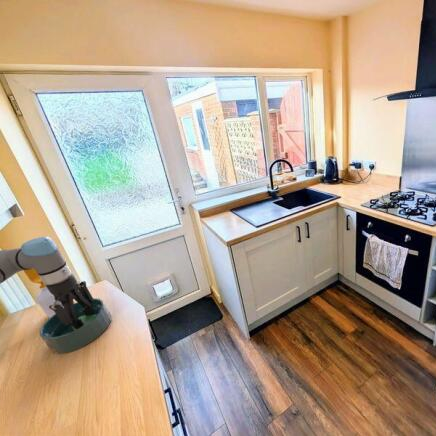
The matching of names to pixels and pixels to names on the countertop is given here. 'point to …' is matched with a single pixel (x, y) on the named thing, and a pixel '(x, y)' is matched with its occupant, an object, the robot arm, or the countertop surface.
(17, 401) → the countertop surface
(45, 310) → the soap bottle
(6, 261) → the robot arm
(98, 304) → the bowl
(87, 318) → the sponge
